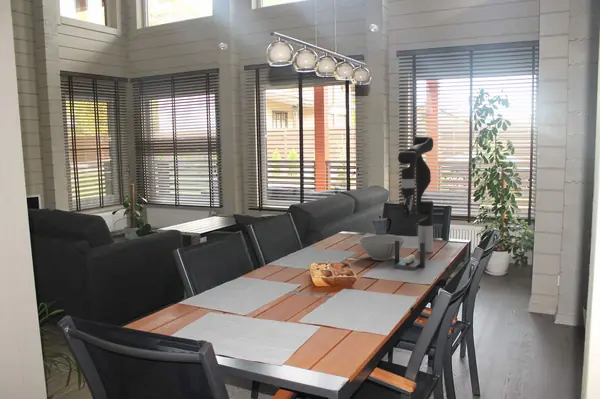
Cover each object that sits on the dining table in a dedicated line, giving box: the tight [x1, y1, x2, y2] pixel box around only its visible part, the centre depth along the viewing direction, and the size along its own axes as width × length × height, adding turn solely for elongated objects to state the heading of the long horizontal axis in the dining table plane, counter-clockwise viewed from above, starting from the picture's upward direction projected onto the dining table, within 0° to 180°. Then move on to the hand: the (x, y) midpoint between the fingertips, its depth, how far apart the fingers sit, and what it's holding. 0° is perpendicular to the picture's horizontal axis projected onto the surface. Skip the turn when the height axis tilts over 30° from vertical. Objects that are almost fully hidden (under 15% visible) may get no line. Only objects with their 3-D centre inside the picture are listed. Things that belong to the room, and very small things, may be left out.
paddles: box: [403, 254, 416, 263], centre depth 294 cm, size 10×3×2 cm, turn 149°
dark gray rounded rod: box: [394, 241, 400, 265], centre depth 298 cm, size 3×3×14 cm
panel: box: [394, 258, 420, 271], centre depth 294 cm, size 16×12×3 cm
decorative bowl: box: [359, 234, 405, 261], centre depth 315 cm, size 27×27×12 cm
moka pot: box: [371, 215, 393, 235], centre depth 359 cm, size 10×15×20 cm, turn 115°
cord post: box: [419, 243, 426, 269], centre depth 290 cm, size 3×3×14 cm
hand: (408, 216), depth 293 cm, fingers closed
